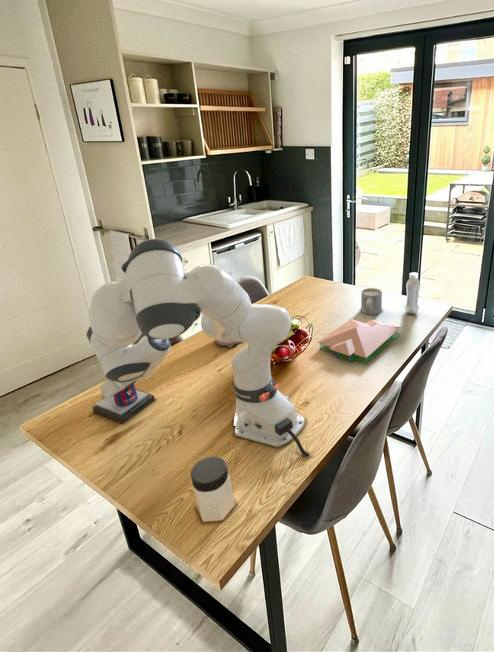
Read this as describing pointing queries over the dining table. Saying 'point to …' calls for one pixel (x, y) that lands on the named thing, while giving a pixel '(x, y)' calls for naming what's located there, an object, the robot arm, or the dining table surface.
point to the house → (359, 338)
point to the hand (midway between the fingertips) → (125, 384)
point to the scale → (122, 407)
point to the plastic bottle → (412, 294)
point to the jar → (212, 489)
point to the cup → (126, 396)
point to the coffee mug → (371, 301)
